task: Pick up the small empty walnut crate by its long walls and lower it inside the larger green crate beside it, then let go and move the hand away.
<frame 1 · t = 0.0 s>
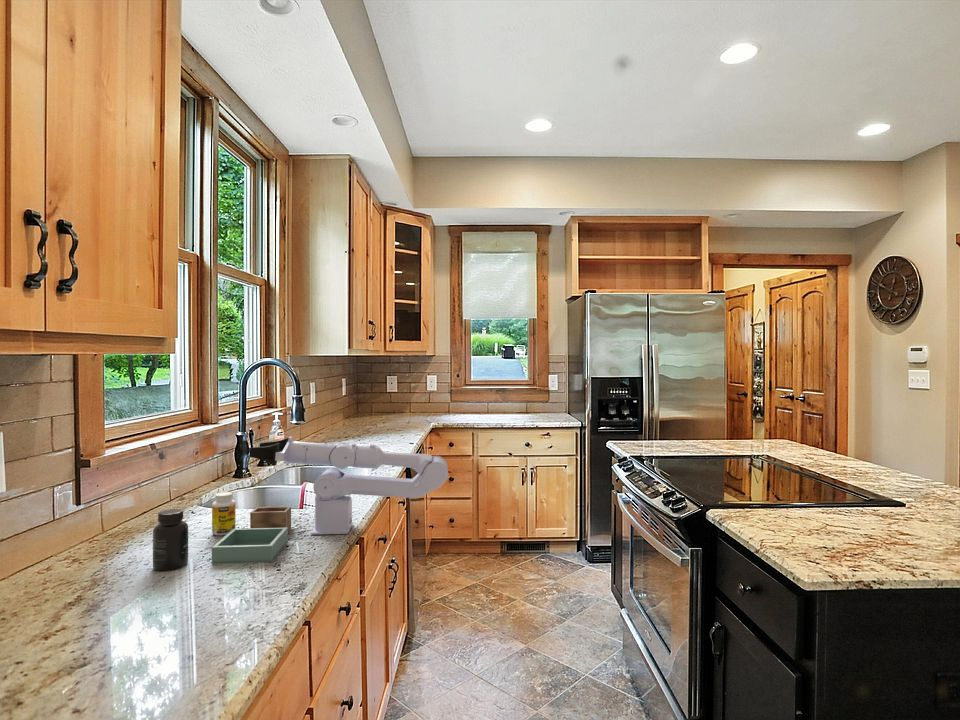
hand: (255, 449, 142), 22 cm above the counter, tool horizontal, fingers open, 7 cm apart
walnut crate: (271, 532, 142), on the counter
supplement bottle 2: (223, 533, 141), on the counter
green crate: (251, 553, 127), on the counter
supplement bottle: (170, 566, 119), on the counter
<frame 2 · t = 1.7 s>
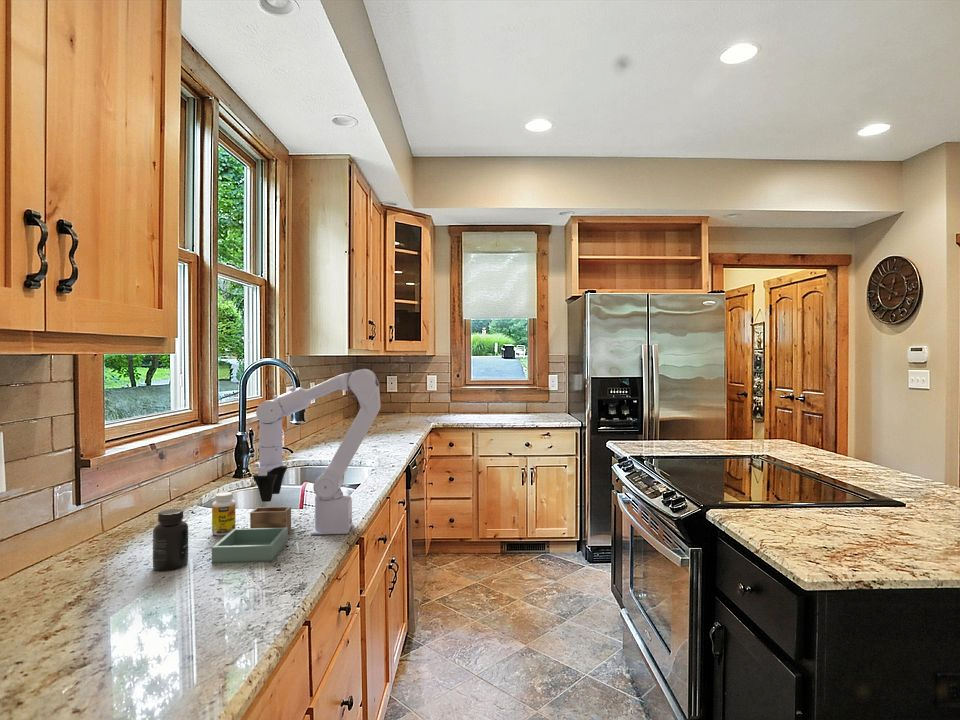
hand: (270, 497, 142), 9 cm above the counter, tool pointing down, fingers open, 7 cm apart
nothing on the counter moved.
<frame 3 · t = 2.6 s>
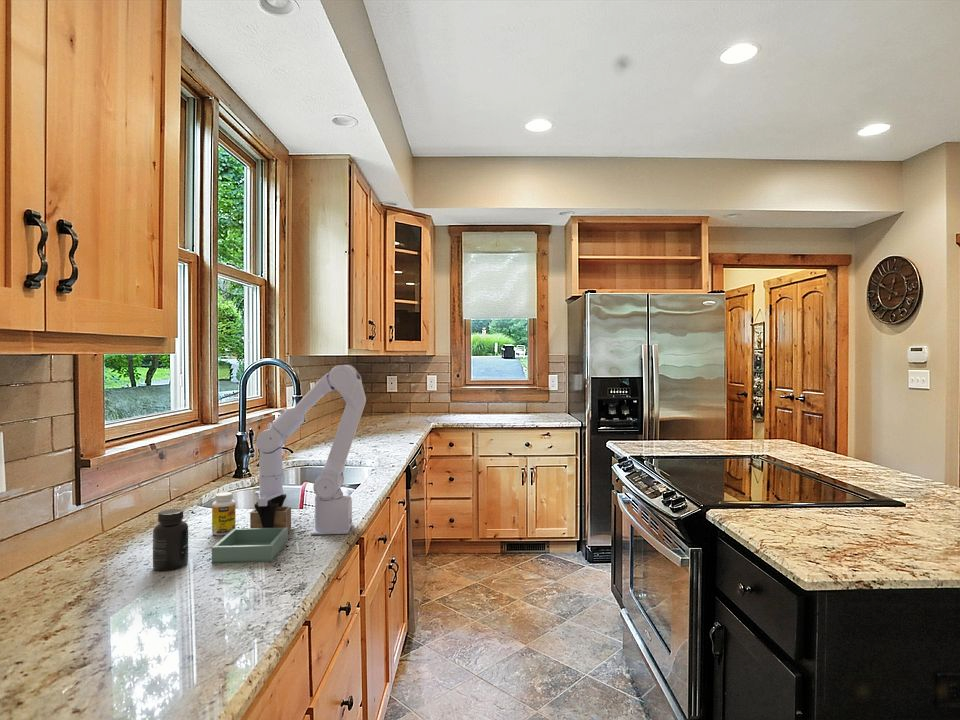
hand: (271, 526, 142), 1 cm above the counter, tool pointing down, fingers closed on walnut crate, 5 cm apart
walnut crate: (271, 532, 142), on the counter, touching gripper
everything else where it was.
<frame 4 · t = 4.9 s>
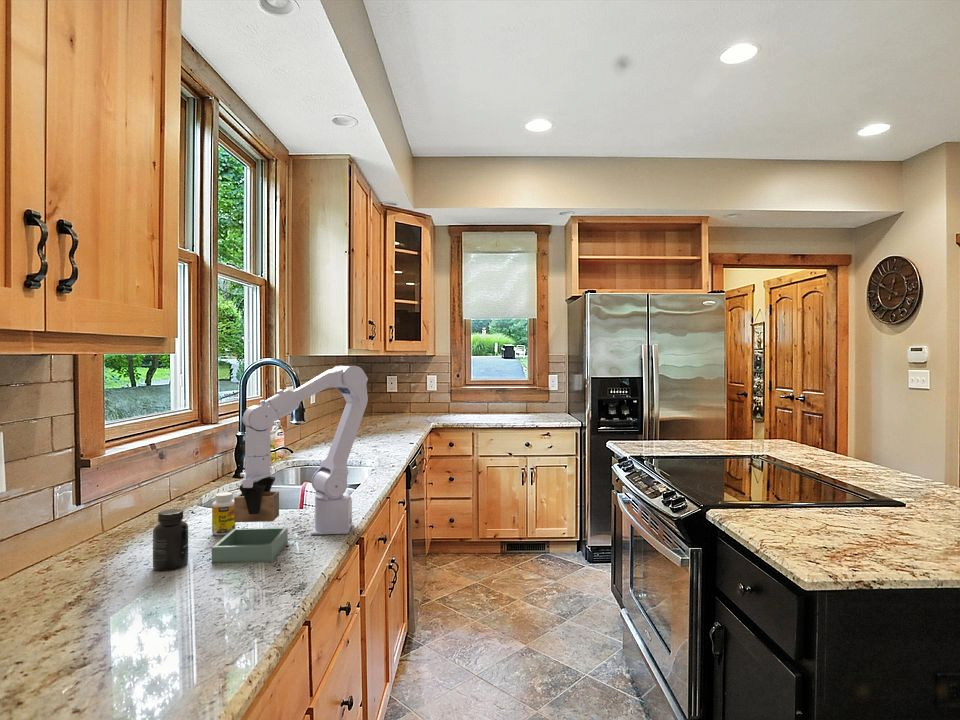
hand: (257, 510, 132), 8 cm above the counter, tool pointing down, fingers closed on walnut crate, 5 cm apart
walnut crate: (257, 518, 132), point 6 cm above the counter, touching gripper
everything else where it was.
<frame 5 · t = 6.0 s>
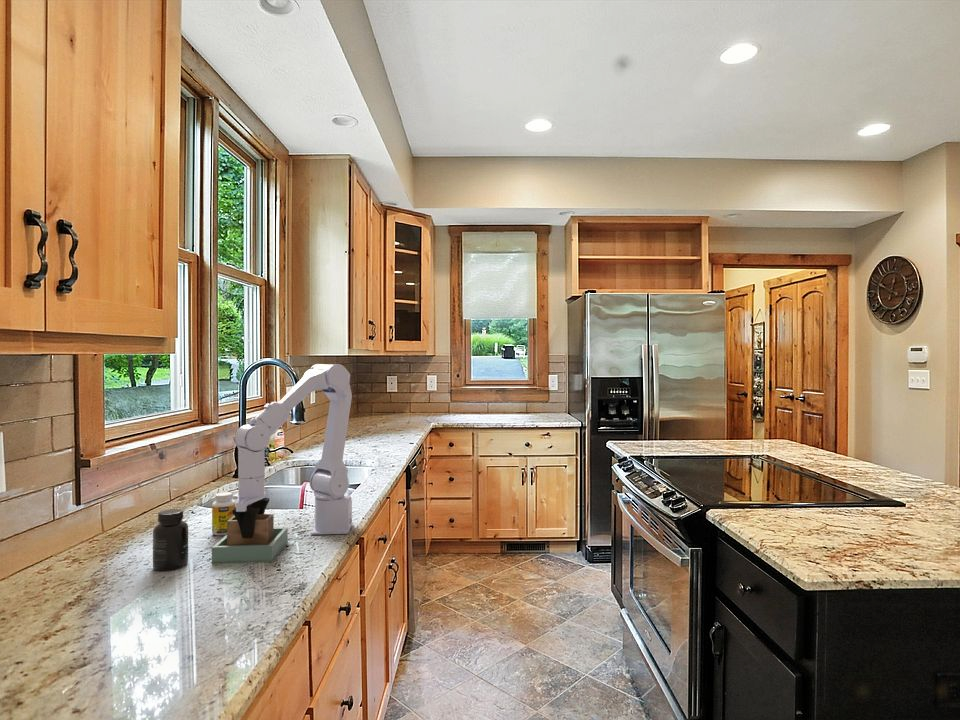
hand: (251, 533, 127), 4 cm above the counter, tool pointing down, fingers closed on walnut crate, 5 cm apart
walnut crate: (250, 542, 127), point 2 cm above the counter, touching gripper
everything else where it was.
when the fingers open (4 cm above the counter, at t = 7.0 s): walnut crate drops 1 cm, resting on green crate.
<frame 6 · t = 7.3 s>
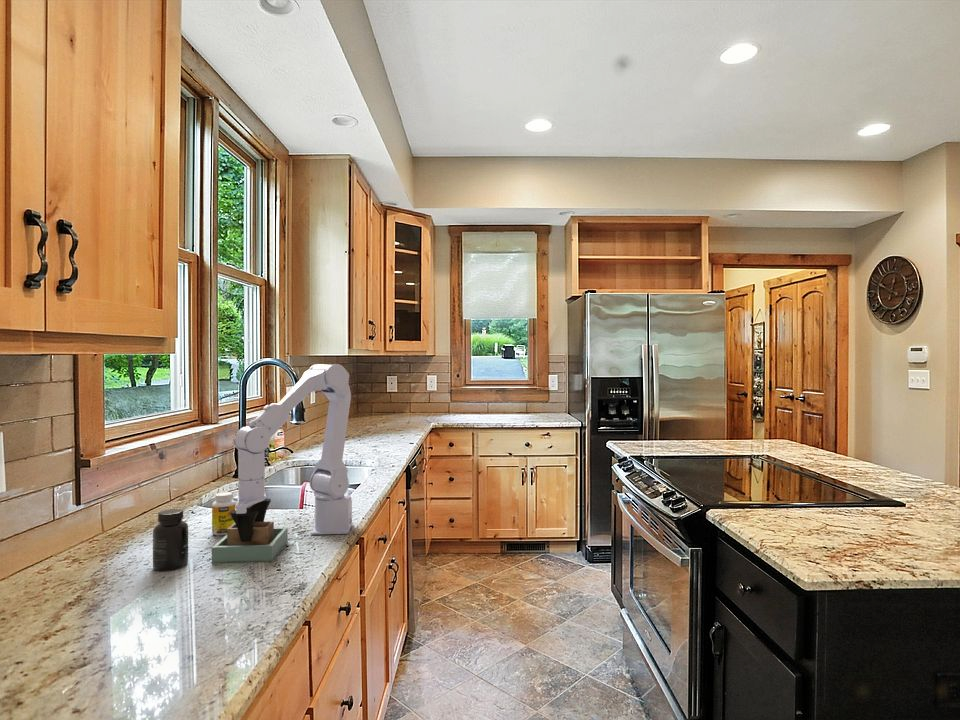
hand: (251, 535, 127), 4 cm above the counter, tool pointing down, fingers open, 7 cm apart
walnut crate: (251, 550, 127), resting on green crate
green crate: (251, 553, 127), on the counter, touching walnut crate
everything else where it was.
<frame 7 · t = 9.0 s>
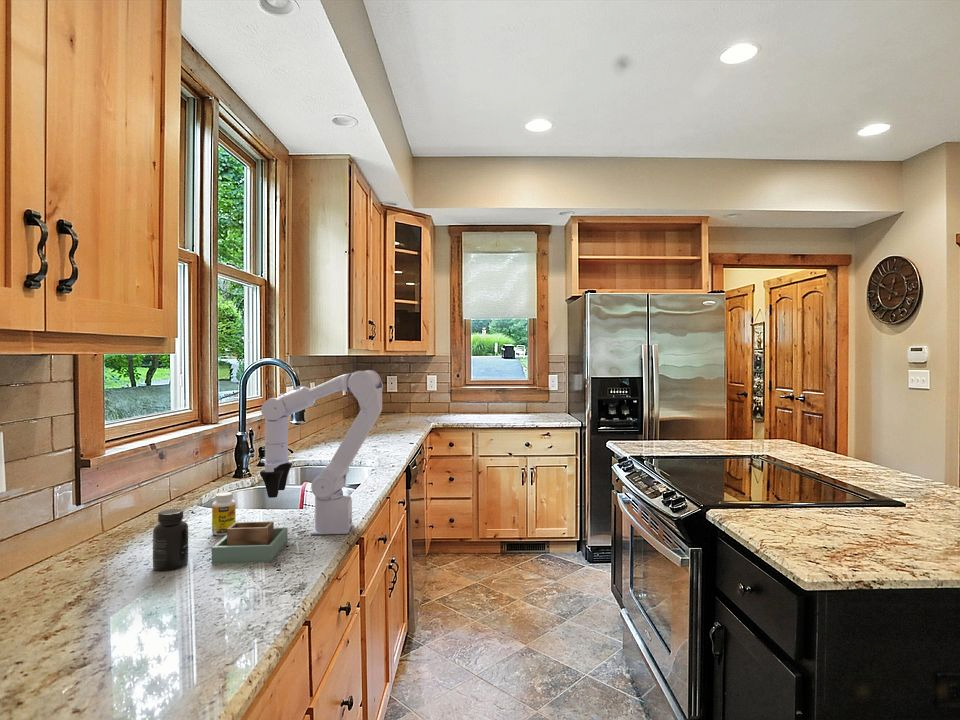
hand: (276, 493, 144), 9 cm above the counter, tool pointing down, fingers open, 7 cm apart
nothing on the counter moved.
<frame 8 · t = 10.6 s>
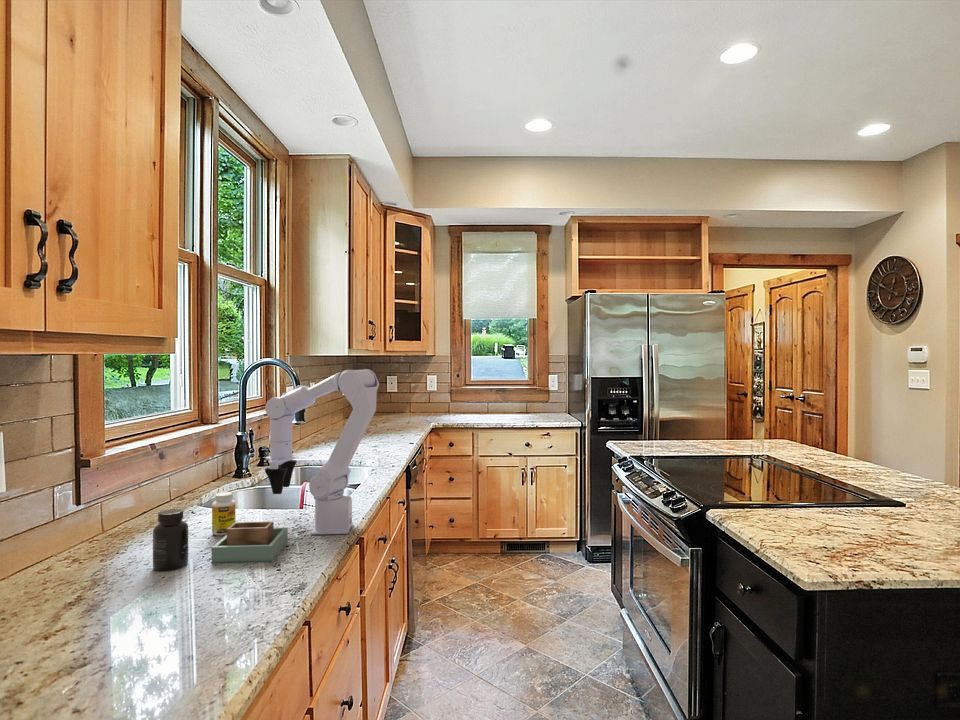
hand: (281, 490, 148), 9 cm above the counter, tool pointing down, fingers open, 7 cm apart
nothing on the counter moved.
at the end: walnut crate 0.2 cm off-centre on the green crate, point 0.8 cm above the green crate's base; walnut crate tilted 0°; the gripper is holding nothing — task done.
